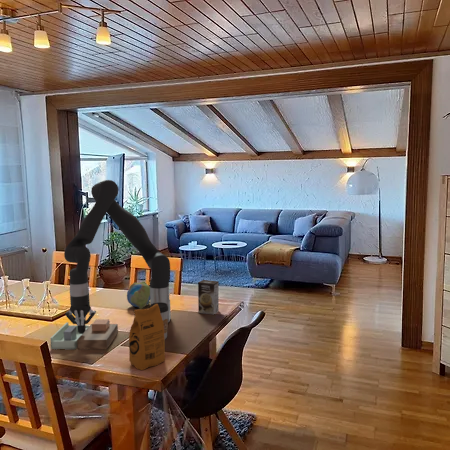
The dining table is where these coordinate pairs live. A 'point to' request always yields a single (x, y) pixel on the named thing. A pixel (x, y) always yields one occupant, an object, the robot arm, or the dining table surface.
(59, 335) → the tray
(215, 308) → the coffee box
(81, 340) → the grey brown flat block
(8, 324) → the dining table surface
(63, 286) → the dining table surface
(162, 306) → the coffee cup
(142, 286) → the blue green round ball
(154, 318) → the coffee package
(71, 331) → the slate tile
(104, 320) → the terracotta tile
